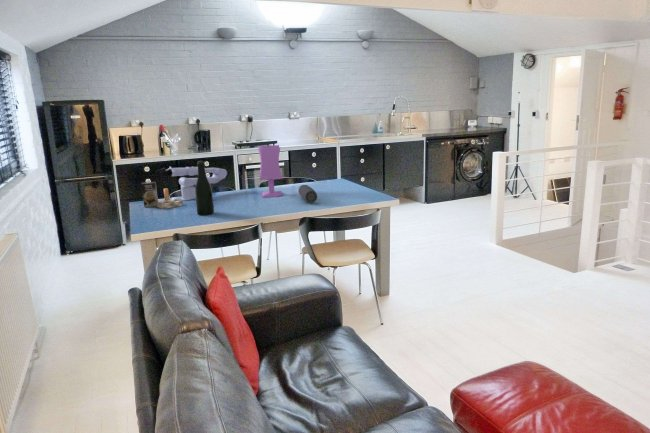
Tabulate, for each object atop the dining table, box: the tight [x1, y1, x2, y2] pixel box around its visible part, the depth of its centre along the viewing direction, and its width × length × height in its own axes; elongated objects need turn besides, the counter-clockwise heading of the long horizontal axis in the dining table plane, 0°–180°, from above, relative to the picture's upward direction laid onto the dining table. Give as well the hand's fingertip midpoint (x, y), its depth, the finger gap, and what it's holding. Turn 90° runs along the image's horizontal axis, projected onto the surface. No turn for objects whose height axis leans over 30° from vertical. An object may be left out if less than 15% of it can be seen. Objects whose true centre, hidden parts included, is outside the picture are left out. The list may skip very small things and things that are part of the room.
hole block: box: [156, 198, 184, 210], centre depth 318 cm, size 14×10×3 cm
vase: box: [257, 144, 283, 198], centre depth 337 cm, size 16×16×35 cm
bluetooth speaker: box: [298, 184, 318, 204], centre depth 317 cm, size 23×9×10 cm, turn 14°
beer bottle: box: [194, 160, 215, 216], centre depth 289 cm, size 10×10×33 cm
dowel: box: [163, 187, 170, 201], centre depth 327 cm, size 3×3×10 cm
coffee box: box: [140, 181, 159, 208], centre depth 319 cm, size 9×6×16 cm
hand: (158, 172), depth 320 cm, fingers open, 7 cm apart
